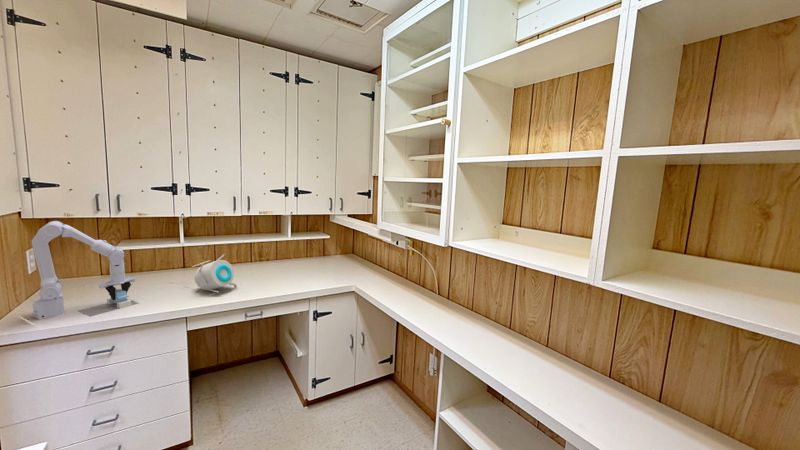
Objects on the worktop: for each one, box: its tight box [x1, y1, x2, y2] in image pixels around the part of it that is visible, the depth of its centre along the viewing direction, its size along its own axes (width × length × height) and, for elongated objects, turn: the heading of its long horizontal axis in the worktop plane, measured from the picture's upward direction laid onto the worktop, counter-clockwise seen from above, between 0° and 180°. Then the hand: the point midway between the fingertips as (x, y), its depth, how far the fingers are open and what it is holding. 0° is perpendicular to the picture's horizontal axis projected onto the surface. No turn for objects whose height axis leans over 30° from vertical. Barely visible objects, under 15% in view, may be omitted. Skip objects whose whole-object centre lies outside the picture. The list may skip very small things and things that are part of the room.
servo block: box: [108, 288, 130, 303], centre depth 166 cm, size 4×10×6 cm, turn 65°
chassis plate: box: [77, 297, 140, 317], centre depth 163 cm, size 20×12×4 cm, turn 155°
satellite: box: [191, 253, 238, 296], centre depth 196 cm, size 23×20×25 cm
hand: (118, 298), depth 167 cm, fingers closed on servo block, 4 cm apart
